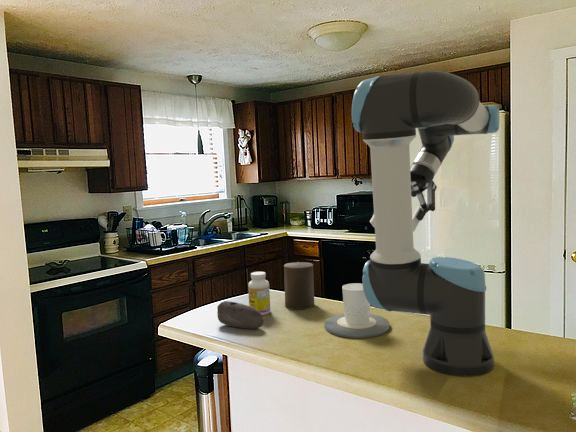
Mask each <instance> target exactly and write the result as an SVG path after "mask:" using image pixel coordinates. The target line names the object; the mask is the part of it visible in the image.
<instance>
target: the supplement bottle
mask: <svg viewBox="0 0 576 432" xmlns="http://www.w3.org/2000/svg"><path fill="white" fill-rule="evenodd" d="M266 277H267V274H266V272H265V271H253V272H250V278H251V280H250V281H249V282H248V285H247V286H248V287H247V289H248V306H250V307H252V308H254V309H256V310H257V311H259V312H260V313H261V315H262V316H266V315H268V314H270V312H271V298H270V296H271V295H270V292H271V291H270V283H269V281H268V280H267V279H266Z"/></svg>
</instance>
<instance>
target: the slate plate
mask: <svg viewBox="0 0 576 432" xmlns="http://www.w3.org/2000/svg"><path fill="white" fill-rule="evenodd" d="M324 329H325V330H326V332H327V333H329V334H331V335H334V336H335V337H336V336H337V337H341V338H347V339H368V338H375V337H379V336H382V335H384V334H386V333H387V332H388V331H389V330H390V321H389V320H388V319H387V318H385V317H383V316H380V315H378V314H373V313H369V322H368V323H367V324H363V325H352V324H348V323H347V322H346V321H345V312H344V313H340V314H336V315H332V316H329V317H328V318H327V319H326V320H325V321H324Z"/></svg>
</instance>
